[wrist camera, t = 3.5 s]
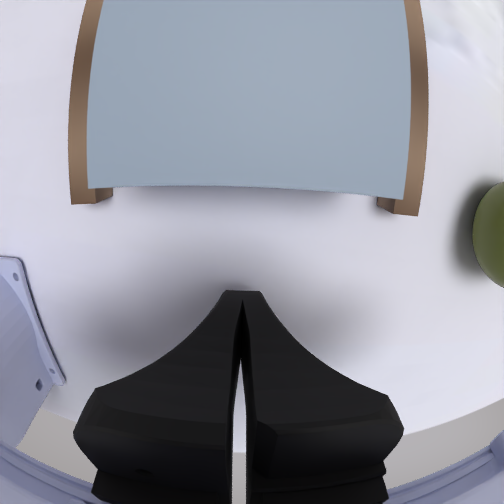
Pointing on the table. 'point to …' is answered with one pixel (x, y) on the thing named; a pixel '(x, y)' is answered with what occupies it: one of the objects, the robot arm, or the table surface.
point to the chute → (395, 206)
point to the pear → (490, 234)
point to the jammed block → (251, 95)
